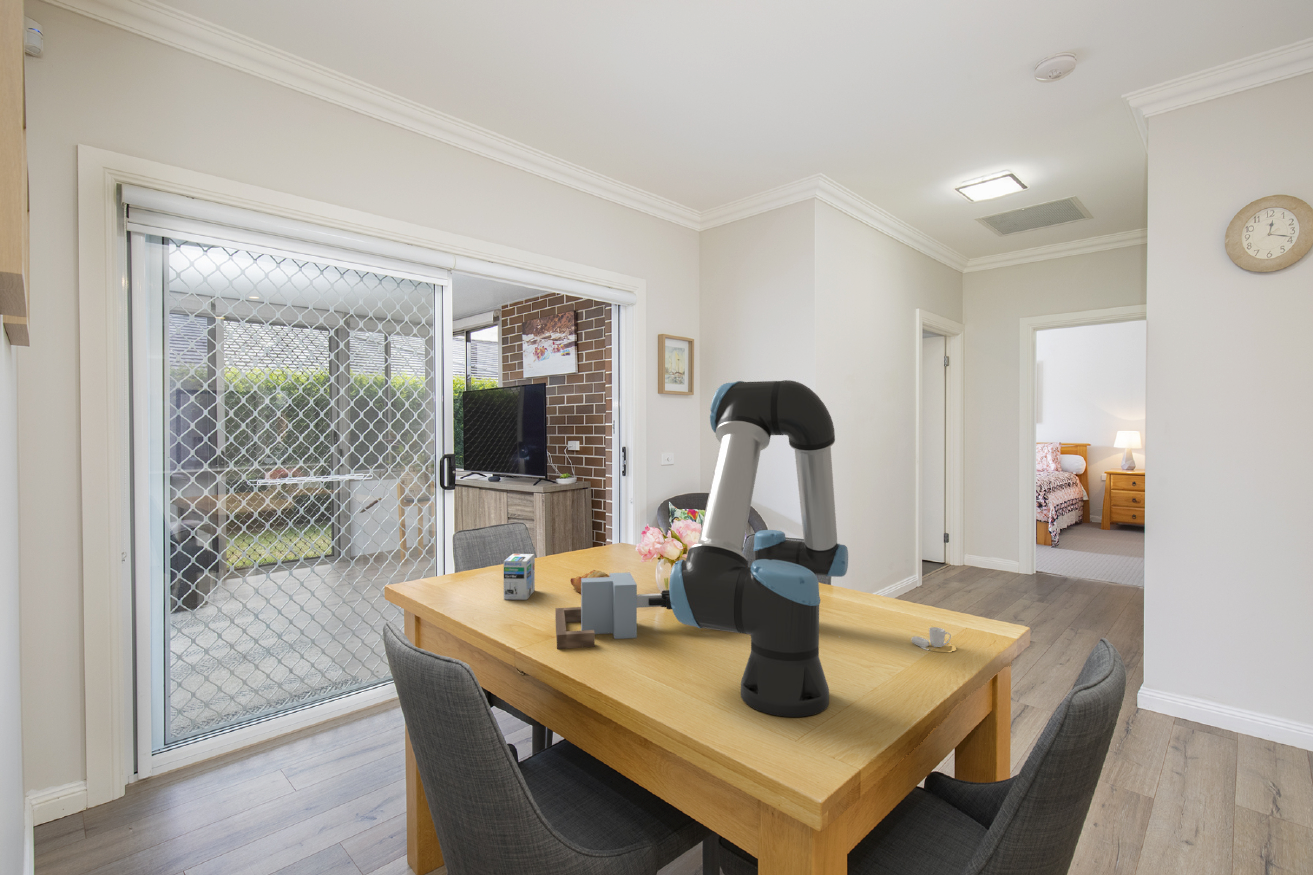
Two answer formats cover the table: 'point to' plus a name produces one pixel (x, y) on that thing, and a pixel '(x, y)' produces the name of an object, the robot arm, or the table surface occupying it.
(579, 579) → the croissant
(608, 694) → the table surface
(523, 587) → the light bulb box
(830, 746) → the table surface
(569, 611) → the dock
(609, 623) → the t block
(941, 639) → the teacup and saucer
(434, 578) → the table surface
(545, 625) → the table surface
